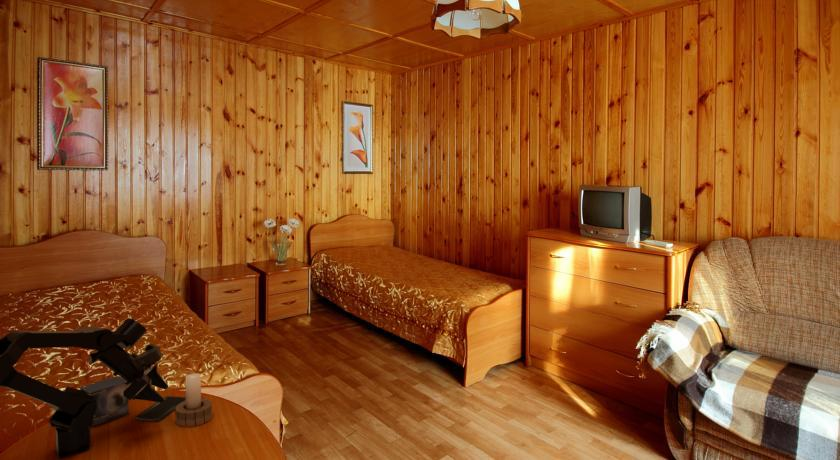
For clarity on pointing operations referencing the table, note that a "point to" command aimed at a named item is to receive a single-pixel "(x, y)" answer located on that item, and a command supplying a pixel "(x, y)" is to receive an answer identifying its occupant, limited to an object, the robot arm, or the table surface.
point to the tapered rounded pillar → (193, 391)
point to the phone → (160, 409)
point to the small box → (108, 399)
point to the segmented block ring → (193, 414)
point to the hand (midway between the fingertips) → (165, 394)
